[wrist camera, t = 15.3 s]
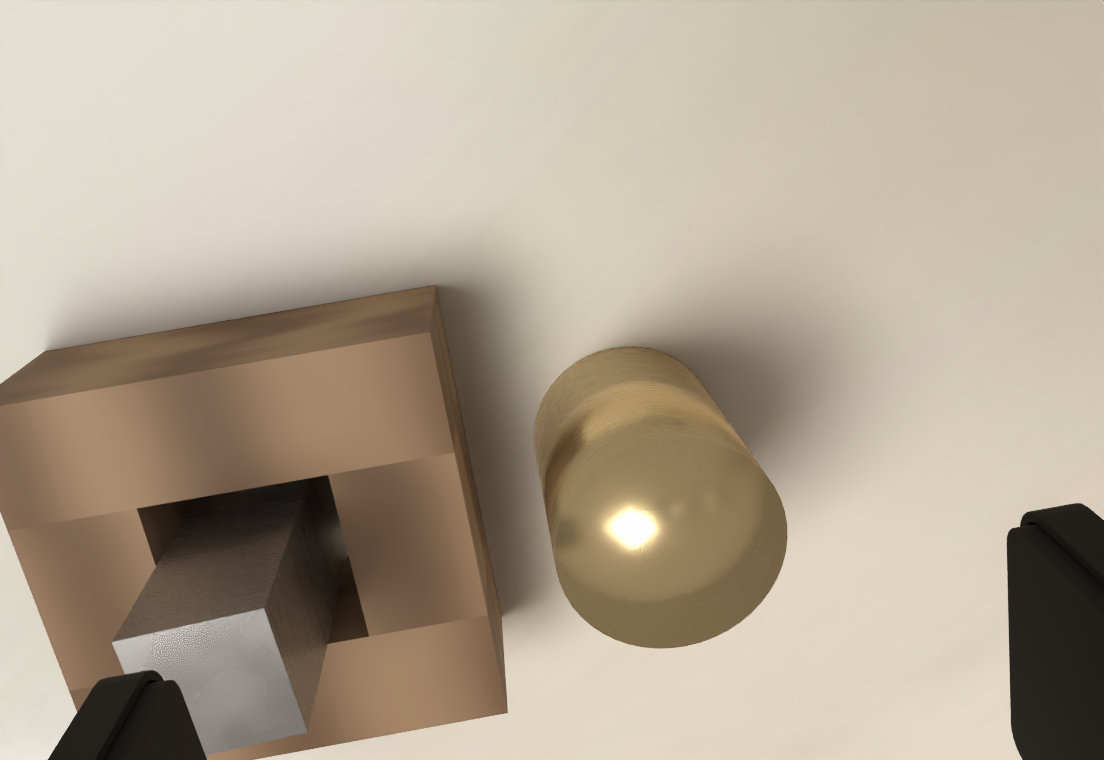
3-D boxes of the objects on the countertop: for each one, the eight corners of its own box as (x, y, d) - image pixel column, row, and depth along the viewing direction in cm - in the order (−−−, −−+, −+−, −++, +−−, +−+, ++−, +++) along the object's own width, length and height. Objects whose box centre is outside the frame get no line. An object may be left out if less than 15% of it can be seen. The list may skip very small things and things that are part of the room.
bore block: (435, 284, 35) (429, 332, 29) (501, 617, 40) (507, 712, 34) (44, 351, 35) (-38, 412, 29) (157, 680, 39) (105, 786, 34)
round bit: (703, 331, 37) (776, 417, 28) (723, 498, 39) (796, 624, 30) (518, 365, 36) (536, 463, 28) (550, 531, 39) (575, 667, 30)
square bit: (325, 433, 37) (263, 608, 25) (354, 526, 38) (307, 732, 27) (220, 456, 37) (111, 642, 25) (252, 549, 38) (162, 764, 27)
